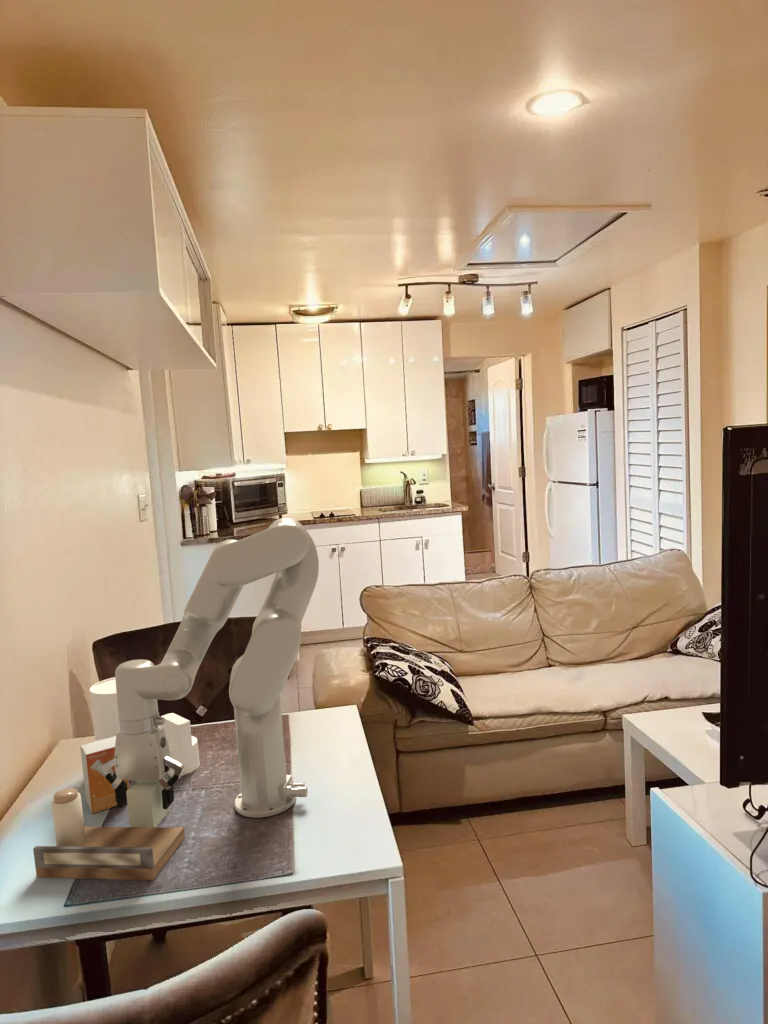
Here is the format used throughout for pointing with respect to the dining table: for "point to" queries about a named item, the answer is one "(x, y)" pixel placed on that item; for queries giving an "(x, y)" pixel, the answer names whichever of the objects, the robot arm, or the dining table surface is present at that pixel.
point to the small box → (98, 774)
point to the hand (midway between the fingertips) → (145, 805)
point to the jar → (68, 818)
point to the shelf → (111, 854)
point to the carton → (145, 804)
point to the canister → (104, 709)
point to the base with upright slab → (181, 742)
